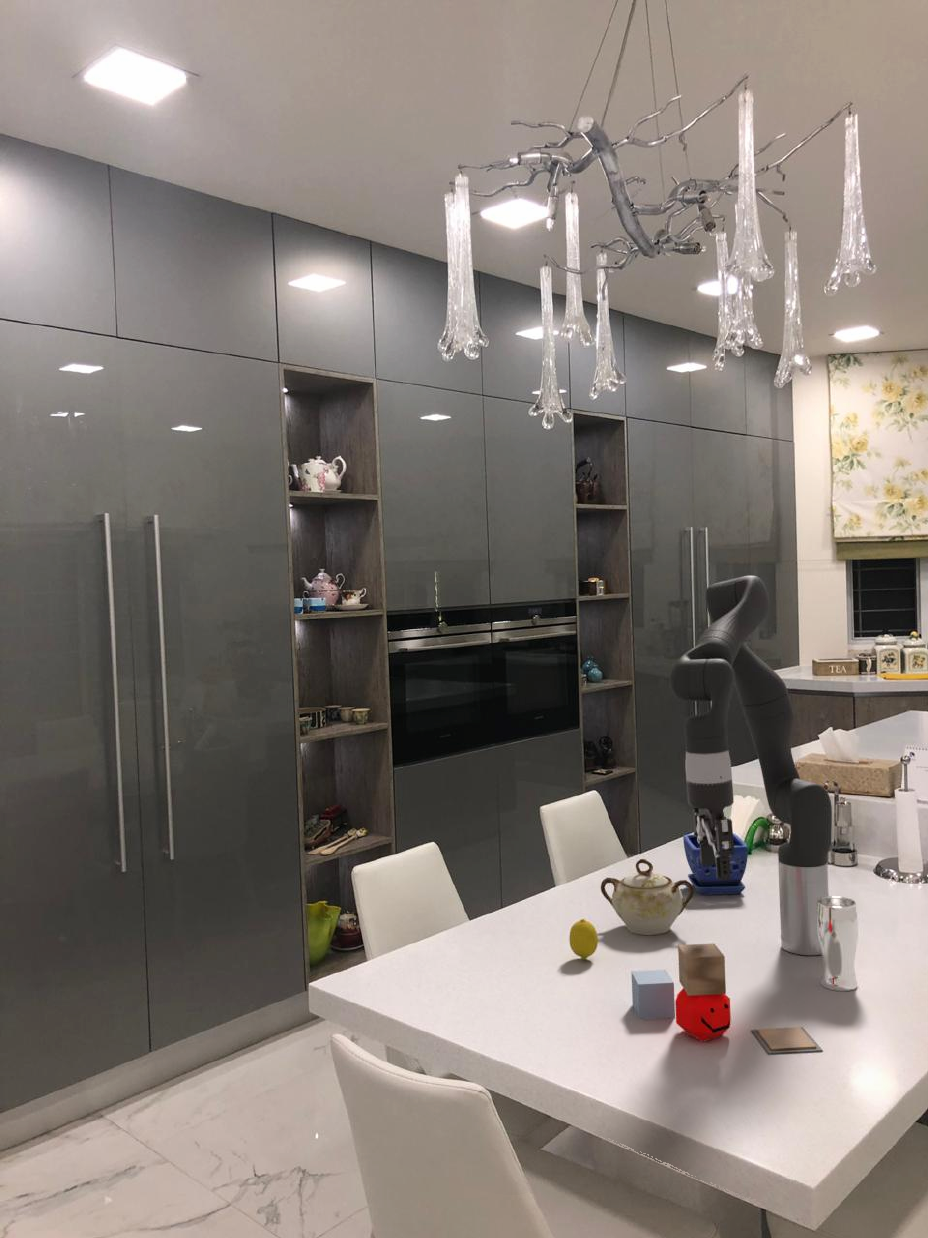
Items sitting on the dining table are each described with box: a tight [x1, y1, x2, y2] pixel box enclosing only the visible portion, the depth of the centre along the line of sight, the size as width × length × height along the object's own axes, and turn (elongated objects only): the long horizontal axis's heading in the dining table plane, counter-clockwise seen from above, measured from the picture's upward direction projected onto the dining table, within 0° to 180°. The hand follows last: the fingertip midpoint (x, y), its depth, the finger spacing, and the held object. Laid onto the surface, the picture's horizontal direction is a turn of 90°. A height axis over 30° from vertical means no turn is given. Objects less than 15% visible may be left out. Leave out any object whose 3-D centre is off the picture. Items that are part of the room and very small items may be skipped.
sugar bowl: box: [600, 858, 695, 936], centre depth 215 cm, size 20×15×15 cm
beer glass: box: [817, 895, 859, 992], centre depth 181 cm, size 7×7×15 cm
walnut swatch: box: [750, 1026, 824, 1055], centre depth 160 cm, size 8×8×1 cm
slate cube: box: [630, 969, 676, 1020], centre depth 173 cm, size 6×6×6 cm
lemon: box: [568, 918, 599, 960], centre depth 199 cm, size 6×6×8 cm
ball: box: [674, 987, 732, 1043], centre depth 163 cm, size 8×8×8 cm
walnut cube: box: [677, 943, 727, 996], centre depth 163 cm, size 6×6×6 cm
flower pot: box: [682, 833, 749, 896], centre depth 242 cm, size 13×13×12 cm
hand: (715, 872), depth 171 cm, fingers open, 8 cm apart
